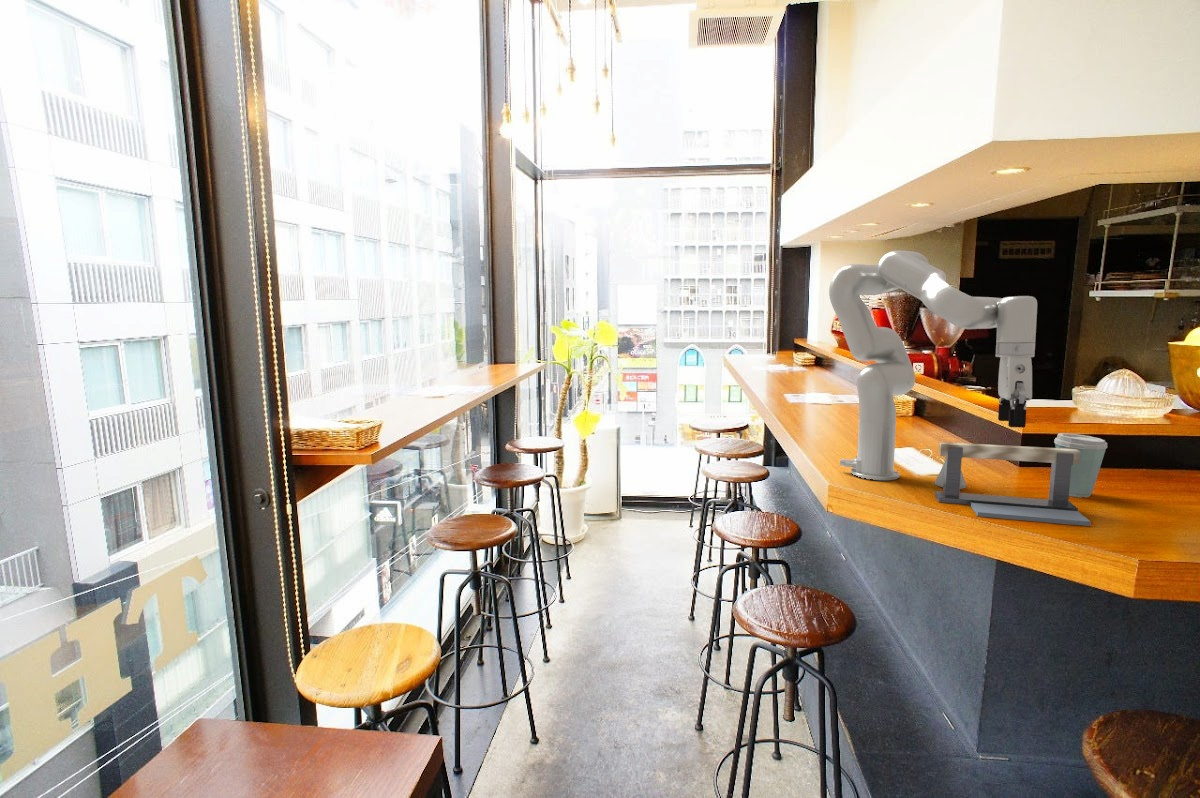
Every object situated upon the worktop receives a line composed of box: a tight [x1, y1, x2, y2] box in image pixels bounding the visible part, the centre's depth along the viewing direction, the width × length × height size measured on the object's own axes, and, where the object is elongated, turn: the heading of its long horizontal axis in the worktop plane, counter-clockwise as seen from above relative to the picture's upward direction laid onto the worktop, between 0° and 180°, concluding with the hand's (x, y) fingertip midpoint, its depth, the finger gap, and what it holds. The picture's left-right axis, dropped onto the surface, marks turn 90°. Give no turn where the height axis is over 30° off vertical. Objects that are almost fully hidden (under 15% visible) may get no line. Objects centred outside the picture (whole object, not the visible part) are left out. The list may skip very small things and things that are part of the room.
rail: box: [938, 441, 1080, 464], centre depth 150 cm, size 28×2×3 cm, turn 70°
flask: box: [933, 461, 968, 490], centre depth 167 cm, size 7×7×10 cm
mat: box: [970, 503, 1092, 527], centre depth 142 cm, size 21×8×1 cm, turn 70°
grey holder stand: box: [934, 447, 1079, 512], centre depth 150 cm, size 28×6×14 cm, turn 70°
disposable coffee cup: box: [1053, 432, 1108, 498], centre depth 158 cm, size 11×11×15 cm
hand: (1011, 423), depth 148 cm, fingers open, 9 cm apart
